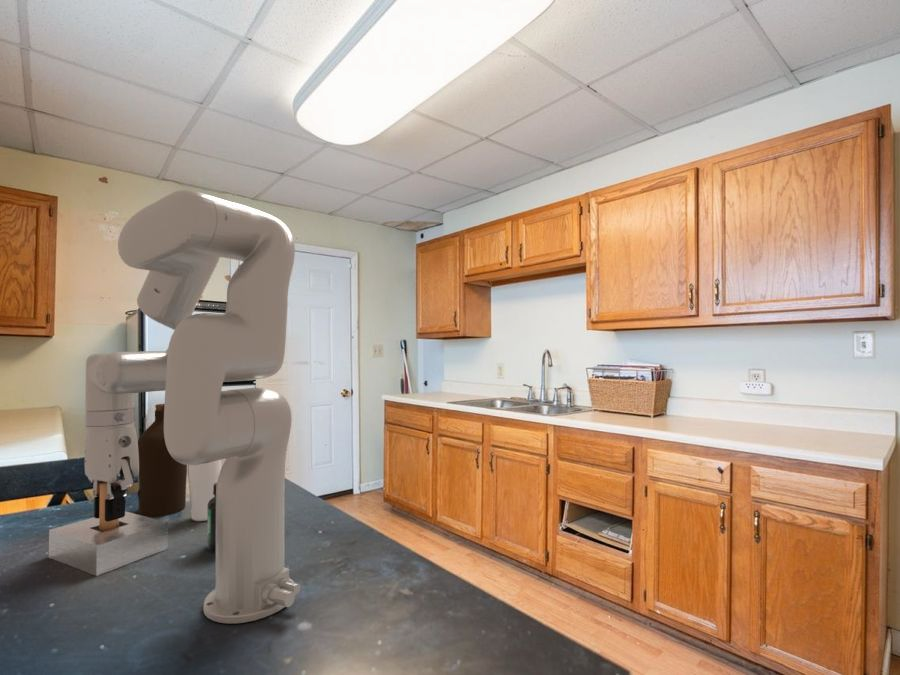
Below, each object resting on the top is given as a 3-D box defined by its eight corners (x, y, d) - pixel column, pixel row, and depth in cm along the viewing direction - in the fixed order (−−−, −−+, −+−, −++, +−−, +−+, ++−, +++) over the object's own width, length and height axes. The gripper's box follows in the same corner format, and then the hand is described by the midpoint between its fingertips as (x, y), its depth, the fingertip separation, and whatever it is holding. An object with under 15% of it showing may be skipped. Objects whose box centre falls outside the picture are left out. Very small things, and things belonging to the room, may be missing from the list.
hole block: (167, 548, 89) (167, 522, 90) (96, 576, 79) (96, 545, 79) (119, 534, 97) (119, 509, 97) (48, 557, 86) (49, 530, 86)
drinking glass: (227, 516, 107) (227, 449, 107) (198, 525, 101) (198, 455, 102) (210, 510, 111) (210, 446, 111) (181, 519, 105) (181, 452, 105)
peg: (122, 535, 88) (122, 481, 89) (104, 541, 86) (105, 485, 86) (113, 532, 90) (113, 479, 90) (95, 538, 87) (96, 483, 87)
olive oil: (194, 501, 118) (195, 401, 118) (178, 516, 107) (178, 406, 108) (148, 504, 116) (148, 402, 116) (126, 519, 105) (127, 407, 106)
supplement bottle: (202, 555, 87) (202, 489, 87) (213, 540, 93) (213, 479, 94) (242, 551, 88) (242, 486, 88) (249, 537, 95) (249, 477, 95)
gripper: (156, 418, 88) (156, 517, 88) (108, 413, 95) (107, 505, 95) (112, 424, 81) (111, 532, 81) (64, 418, 89) (63, 517, 88)
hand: (109, 516), depth 88 cm, fingers closed on peg, 2 cm apart
